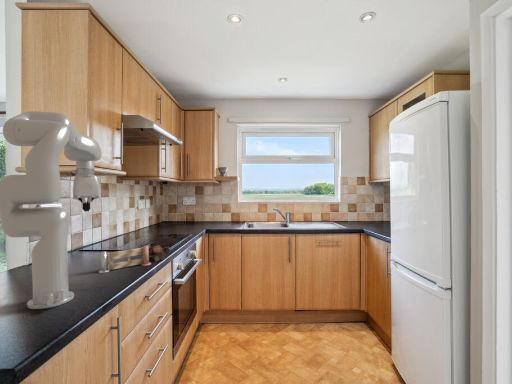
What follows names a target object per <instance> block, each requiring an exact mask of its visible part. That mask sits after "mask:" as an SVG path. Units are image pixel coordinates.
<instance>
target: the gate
mask: <svg viewBox="0 0 512 384" xmlns="http://www.w3.org/2000/svg"><path fill="white" fill-rule="evenodd" d="M141 255H142V256H143V247H138V248H131V249H127V250H119V251H113V252H107V270H110V271H112V270H116V269H117V270H118V269H122V268H128V267H133V266H137V265H141V264H143V263H144V261H143V257H141V258H135V259H131V257H135V256H141ZM123 258H126V260H125V261H119V262H114V260H117V259H123Z"/></svg>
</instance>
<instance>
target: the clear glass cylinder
mask: <svg viewBox="0 0 512 384" xmlns="http://www.w3.org/2000/svg"><path fill="white" fill-rule="evenodd" d="M107 253H108V252H107V251H101V252H100V256H101V257H100V265H101V269H100V270H98V273H99V274H105V273H109V272H111V270H107V264H108V261H107Z"/></svg>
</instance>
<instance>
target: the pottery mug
mask: <svg viewBox="0 0 512 384" xmlns="http://www.w3.org/2000/svg"><path fill="white" fill-rule="evenodd" d="M148 250H149V256H151V257H152V256H153V257H154V258H153V260H154V261H155V262H158V261H163V260H165V259H166V257H167V255H169V254H170V252H171V249H170V247H168V246H164V247H161V245H154V246H152V247H148Z"/></svg>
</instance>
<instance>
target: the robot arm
mask: <svg viewBox="0 0 512 384" xmlns="http://www.w3.org/2000/svg"><path fill="white" fill-rule="evenodd" d="M2 136H3V137H4V139H5V141H6V142H7V143H9V144H10V145H13V146H15V147H32V148H30V150H29V151H28V152H27V154H26V155H25V158H24V167H25V174H9V175H5V176H2V178H1V179H0V223H1V228H2V230H3V233H4V234H5V235H6V236H7V237H10V238H30V237H31V238H32V237H33V238H34V237H37V238H38V237H40V239H39V240H38V241H37V242H36V244H35V245H33V247H32V250H31V265H32V266H31V271H32V273H31V275H32V279H31V280H32V298H31V299H29V300H28V301H27V302H26V307H27V309H30V310H43V309H45V310H46V309H49V308H54V307H58V306H61V305H64V304H66V303H68V302H70V301H72V300H73V299H74V298H75V293H74V292H73V291H70V290H69V261H68V260H69V259H68V258H69V257H68V256H69V255H68V236H69V229H70V223H71V216H70V212H69V211H68V210H66V209H65V208H63V207H60V206H38V207H37V206H36V207H24V205H49V204H53V203H57V202H59V200H60V199H61V197H62V183H61V181H62V180H61V174H60V157H61V155H62V152H63V154H64V157H65V158H66V159H67V160H69V161H70V162H71V161H72V162H75V170H74V169H73V170H72V174H74V178H73V185H72V195H73V196H72V199H73V200H77V201H79V202H80V203H81V206H82V207H81V208H82V210H83V212H84V213H85V212H90V210H91V203H92V202H93V201H94V200H97V199H98V200H99V198H100V196H99V194H100V188H99V179H98V176H97V175H95V174H96V172H95V162H98V161H101V158H102V155H103V154H102V153H103V152H102V148H101V146H100V144H99V142H97V139H95V138H93V137H92V136H90V135H89V136H88V135H86V134H84V133H82V132H79V131H78V130H77V129H76V127H75V125H74V124H73V122H72V121H71V120H70V119H69V117H68V116H67V115H65V114H63V113H59V112H51V111H35V110H32V111H31V110H30V111H25V112H22V113H20V114H17V115H15V116H13V117H10V118H9V119H7V120H6V121H5V122H4V123H3V126H2ZM85 197H87V199H86V198H85Z"/></svg>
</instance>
